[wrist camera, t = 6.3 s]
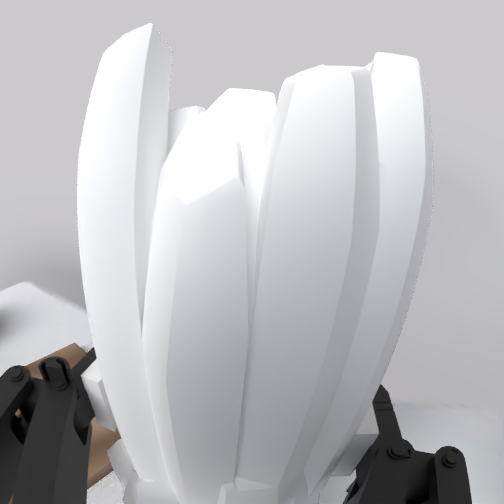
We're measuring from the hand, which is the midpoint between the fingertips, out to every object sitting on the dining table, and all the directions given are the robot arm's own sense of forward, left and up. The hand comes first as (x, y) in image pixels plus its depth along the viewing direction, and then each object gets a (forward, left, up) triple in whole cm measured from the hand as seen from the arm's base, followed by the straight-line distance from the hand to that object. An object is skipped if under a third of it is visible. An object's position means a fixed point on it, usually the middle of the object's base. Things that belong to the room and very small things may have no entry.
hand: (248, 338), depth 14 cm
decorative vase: (-2, +4, -14) cm, 15 cm away
